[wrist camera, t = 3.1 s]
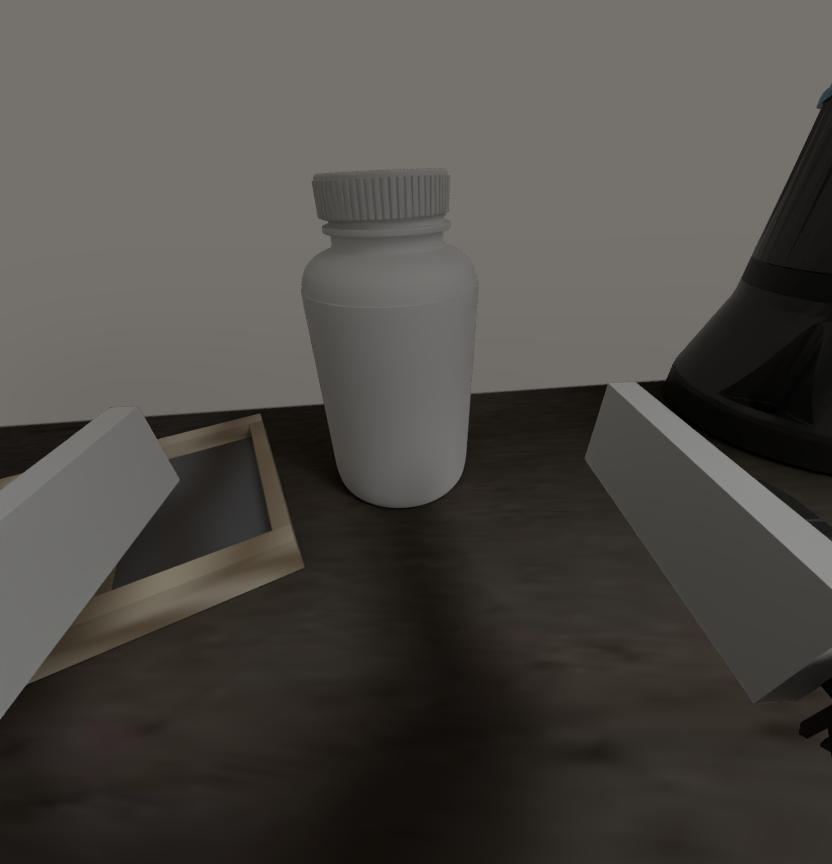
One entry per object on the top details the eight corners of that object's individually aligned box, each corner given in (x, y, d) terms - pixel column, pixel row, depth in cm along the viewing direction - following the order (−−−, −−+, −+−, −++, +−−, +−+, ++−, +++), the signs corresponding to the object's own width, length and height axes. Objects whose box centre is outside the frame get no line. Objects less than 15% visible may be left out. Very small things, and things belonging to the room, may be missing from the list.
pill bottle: (350, 530, 18) (273, 166, 9) (332, 443, 24) (275, 177, 16) (489, 493, 20) (529, 160, 11) (438, 421, 26) (439, 172, 18)
